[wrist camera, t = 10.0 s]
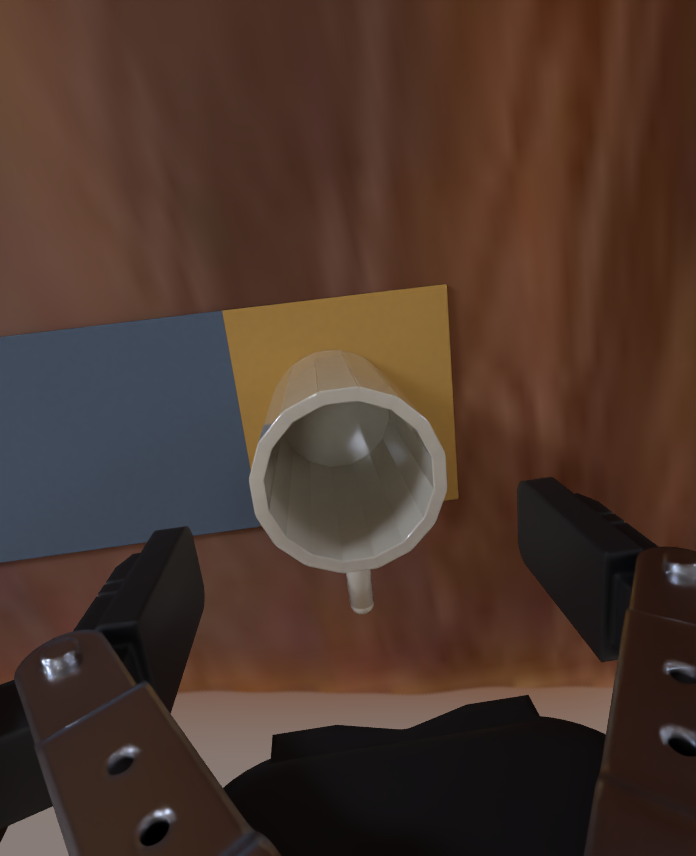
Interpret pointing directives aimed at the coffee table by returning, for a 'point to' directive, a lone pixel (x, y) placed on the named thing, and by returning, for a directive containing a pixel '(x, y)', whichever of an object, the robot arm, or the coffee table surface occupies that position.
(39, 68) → the coffee table surface
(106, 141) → the coffee table surface
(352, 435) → the mug
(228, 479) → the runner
